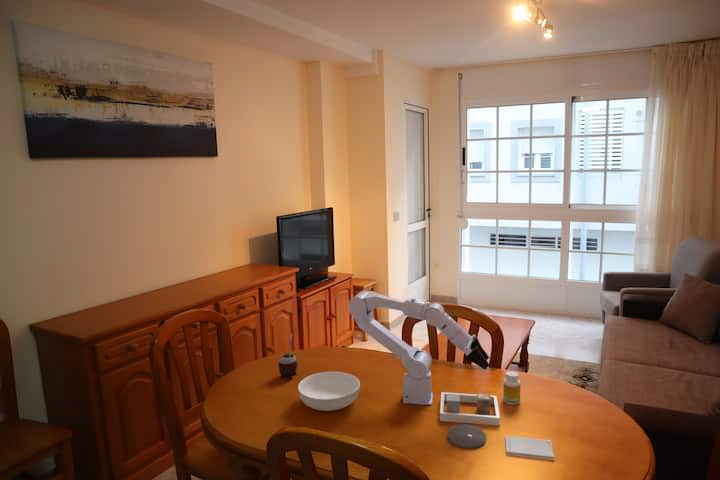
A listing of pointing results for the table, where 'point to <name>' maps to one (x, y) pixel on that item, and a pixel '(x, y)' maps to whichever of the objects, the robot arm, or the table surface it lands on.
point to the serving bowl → (329, 390)
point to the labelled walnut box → (483, 404)
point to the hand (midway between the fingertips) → (487, 363)
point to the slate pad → (466, 436)
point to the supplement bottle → (511, 388)
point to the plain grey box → (453, 403)
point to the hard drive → (529, 447)
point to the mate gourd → (288, 364)
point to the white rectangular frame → (469, 417)
